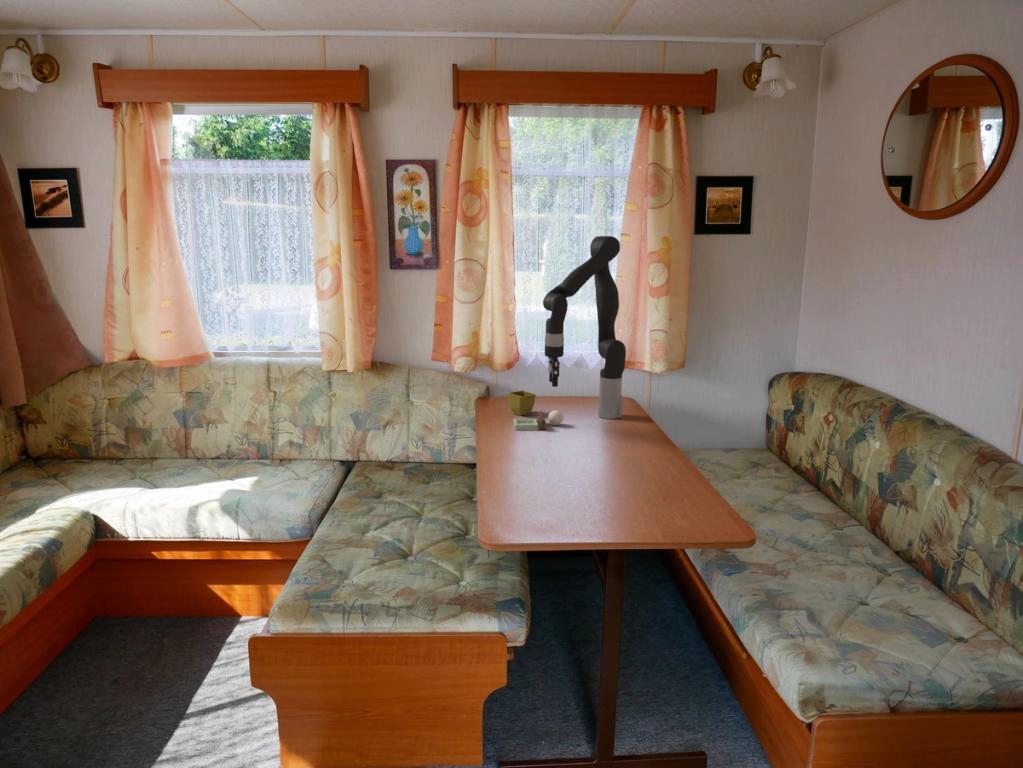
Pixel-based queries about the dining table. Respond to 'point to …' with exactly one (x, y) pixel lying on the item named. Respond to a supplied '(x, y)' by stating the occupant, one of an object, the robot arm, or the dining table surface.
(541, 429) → the rail
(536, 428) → the dish
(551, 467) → the dining table surface
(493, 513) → the dining table surface
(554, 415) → the ball
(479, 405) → the dining table surface
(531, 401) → the flower pot
